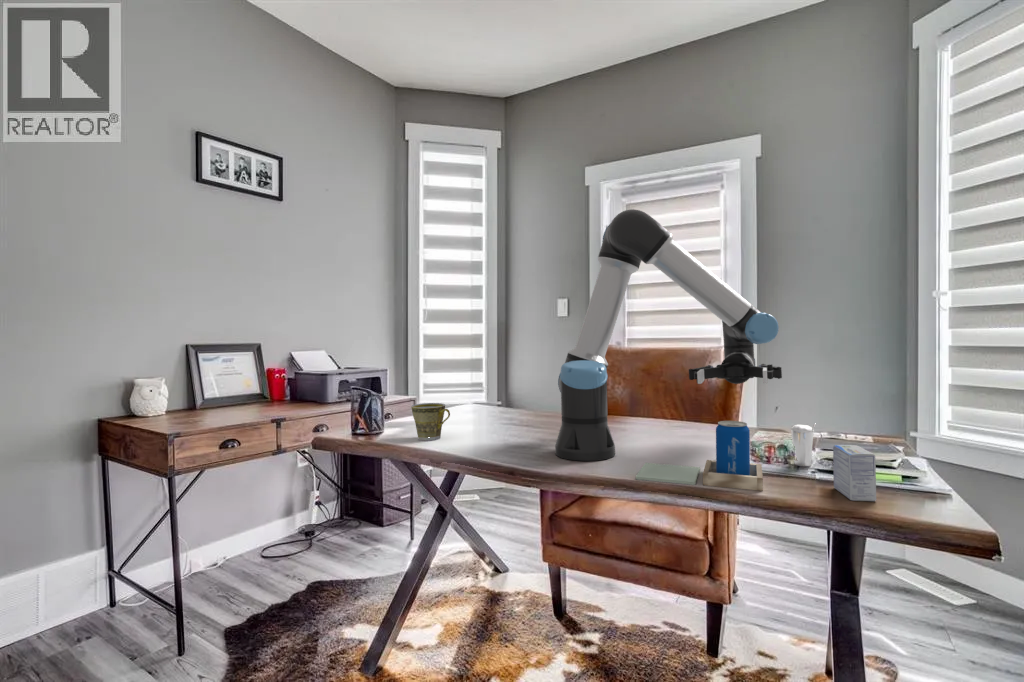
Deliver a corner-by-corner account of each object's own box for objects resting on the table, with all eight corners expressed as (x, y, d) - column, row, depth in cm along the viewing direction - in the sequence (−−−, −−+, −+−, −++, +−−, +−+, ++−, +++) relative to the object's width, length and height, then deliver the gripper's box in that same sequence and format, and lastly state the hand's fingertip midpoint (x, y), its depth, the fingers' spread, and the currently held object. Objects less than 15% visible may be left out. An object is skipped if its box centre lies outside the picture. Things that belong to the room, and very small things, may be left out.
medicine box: (877, 502, 97) (876, 454, 96) (849, 501, 97) (849, 454, 97) (858, 488, 104) (857, 444, 104) (832, 488, 105) (832, 444, 105)
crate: (703, 485, 109) (702, 472, 109) (706, 471, 119) (706, 459, 119) (762, 490, 104) (762, 478, 104) (761, 475, 114) (761, 464, 114)
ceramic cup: (405, 440, 158) (404, 406, 158) (427, 434, 167) (426, 402, 166) (439, 444, 151) (438, 409, 151) (460, 437, 160) (459, 404, 159)
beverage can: (716, 483, 110) (715, 425, 109) (716, 474, 116) (716, 419, 115) (750, 486, 107) (750, 426, 107) (749, 477, 113) (748, 421, 113)
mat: (635, 479, 114) (635, 476, 114) (645, 465, 125) (645, 462, 125) (695, 485, 109) (695, 482, 109) (700, 469, 120) (699, 467, 120)
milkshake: (809, 469, 118) (808, 424, 118) (786, 463, 123) (786, 420, 123) (821, 466, 120) (821, 422, 120) (799, 461, 125) (799, 418, 125)
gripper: (792, 381, 133) (795, 393, 114) (687, 382, 144) (674, 394, 125) (790, 351, 132) (793, 358, 113) (686, 355, 144) (672, 362, 125)
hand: (731, 377), depth 119 cm, fingers open, 13 cm apart
